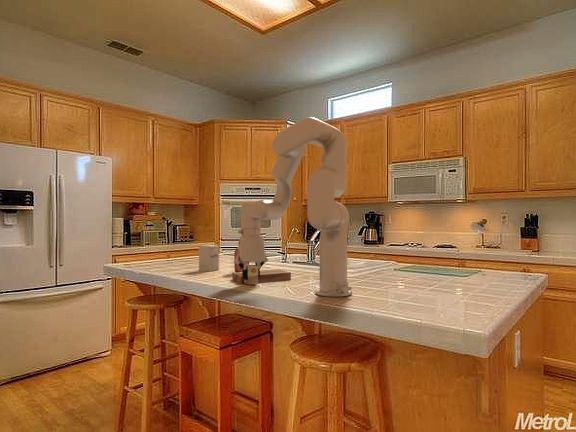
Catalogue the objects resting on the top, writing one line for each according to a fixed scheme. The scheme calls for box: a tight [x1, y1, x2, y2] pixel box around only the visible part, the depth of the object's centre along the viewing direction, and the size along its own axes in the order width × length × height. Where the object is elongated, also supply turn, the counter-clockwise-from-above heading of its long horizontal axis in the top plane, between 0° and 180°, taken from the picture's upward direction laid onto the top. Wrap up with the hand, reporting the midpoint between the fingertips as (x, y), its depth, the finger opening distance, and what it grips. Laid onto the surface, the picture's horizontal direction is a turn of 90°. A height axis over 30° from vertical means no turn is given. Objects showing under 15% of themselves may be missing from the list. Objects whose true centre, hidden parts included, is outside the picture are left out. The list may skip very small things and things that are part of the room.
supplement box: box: [198, 244, 220, 273], centre depth 187 cm, size 7×7×13 cm
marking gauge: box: [244, 263, 259, 286], centre depth 149 cm, size 14×4×7 cm, turn 26°
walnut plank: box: [231, 268, 292, 285], centre depth 158 cm, size 12×22×3 cm, turn 116°
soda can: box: [233, 247, 250, 272], centre depth 178 cm, size 7×7×12 cm
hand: (251, 278), depth 146 cm, fingers closed on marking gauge, 4 cm apart
